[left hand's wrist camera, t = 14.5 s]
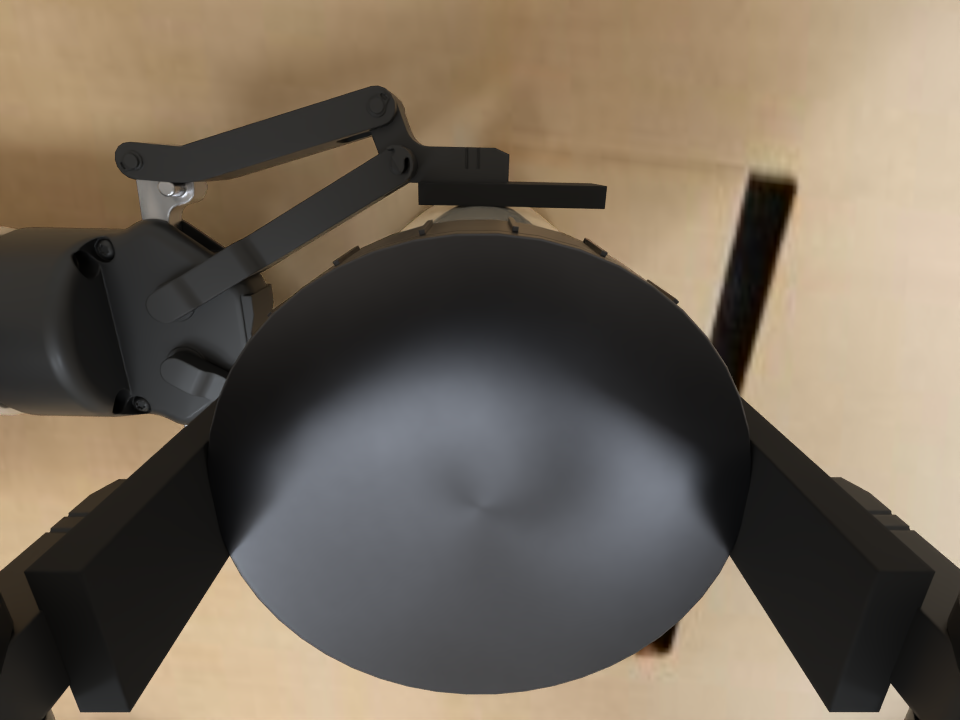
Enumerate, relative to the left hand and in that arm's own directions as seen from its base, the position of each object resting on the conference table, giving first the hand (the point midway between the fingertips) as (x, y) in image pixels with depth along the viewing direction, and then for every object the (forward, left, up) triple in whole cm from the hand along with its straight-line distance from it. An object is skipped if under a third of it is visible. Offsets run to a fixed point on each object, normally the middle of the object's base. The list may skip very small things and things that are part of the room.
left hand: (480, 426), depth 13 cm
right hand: (-3, -3, -8) cm, 9 cm away
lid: (0, 0, +3) cm, 3 cm away
